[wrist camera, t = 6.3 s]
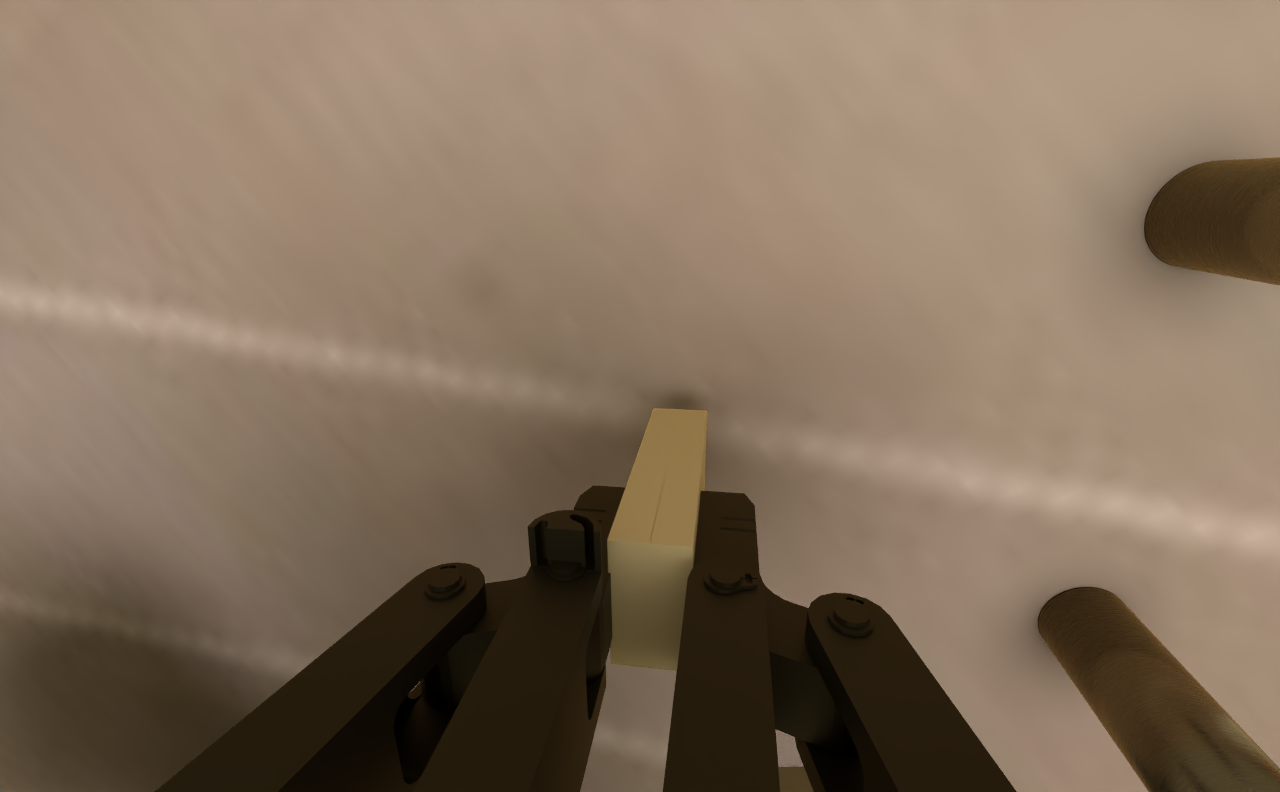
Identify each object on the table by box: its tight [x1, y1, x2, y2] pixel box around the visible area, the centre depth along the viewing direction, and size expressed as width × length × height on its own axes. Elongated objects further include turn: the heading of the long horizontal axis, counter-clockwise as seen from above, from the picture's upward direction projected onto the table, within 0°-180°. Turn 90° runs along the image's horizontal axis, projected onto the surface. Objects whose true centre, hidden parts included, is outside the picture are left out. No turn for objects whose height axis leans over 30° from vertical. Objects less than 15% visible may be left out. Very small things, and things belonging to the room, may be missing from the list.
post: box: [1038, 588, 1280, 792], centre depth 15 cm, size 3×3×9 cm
